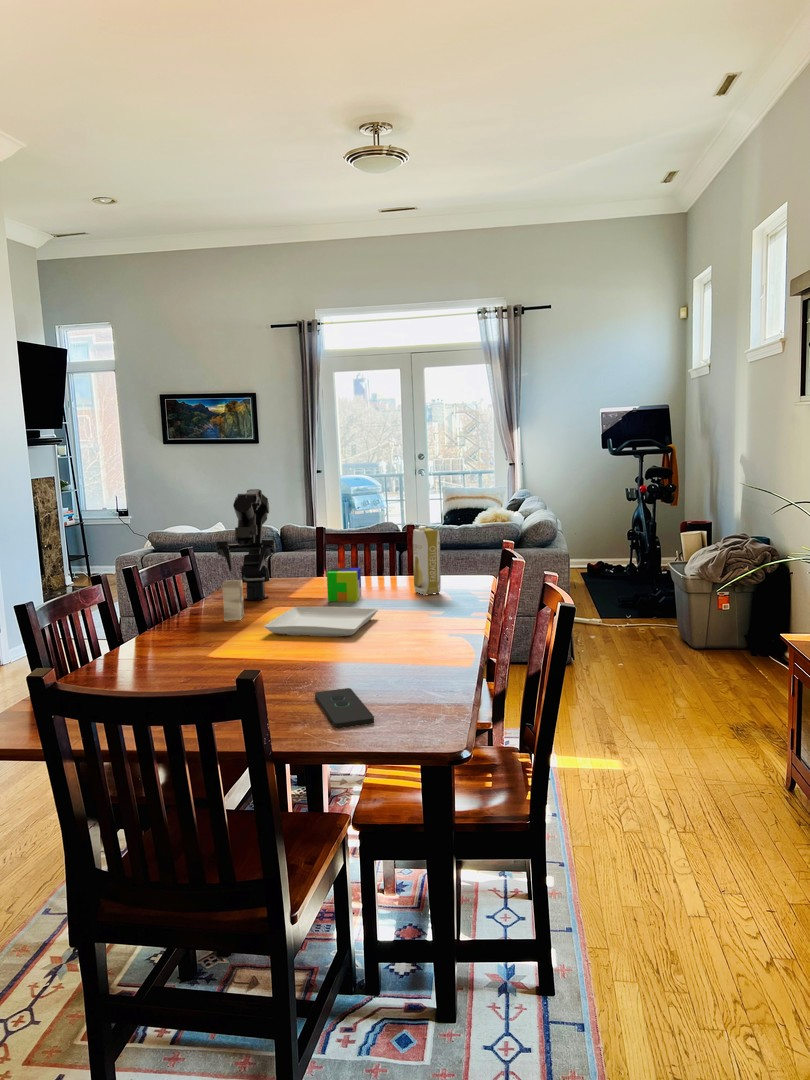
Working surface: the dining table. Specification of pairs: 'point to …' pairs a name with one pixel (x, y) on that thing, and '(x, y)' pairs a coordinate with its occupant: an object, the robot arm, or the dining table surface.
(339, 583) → the puzzle toy
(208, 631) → the dining table surface
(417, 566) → the juice carton
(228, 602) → the metal block
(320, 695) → the smart home device
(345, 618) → the square plate
